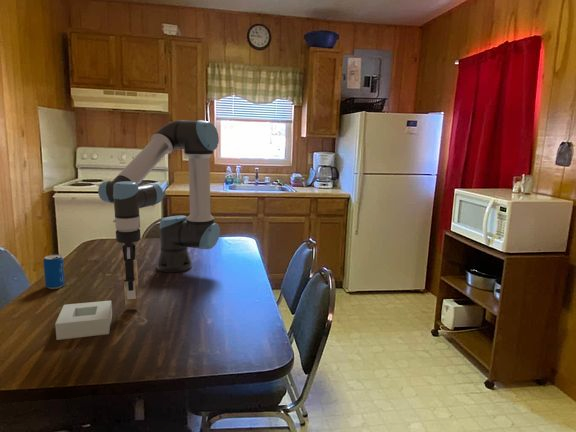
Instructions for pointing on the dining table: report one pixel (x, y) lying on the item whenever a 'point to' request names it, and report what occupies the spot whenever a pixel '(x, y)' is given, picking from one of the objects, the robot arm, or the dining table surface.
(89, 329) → the socket block
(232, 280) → the dining table surface
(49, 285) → the beverage can
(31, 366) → the dining table surface
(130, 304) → the oak peg
